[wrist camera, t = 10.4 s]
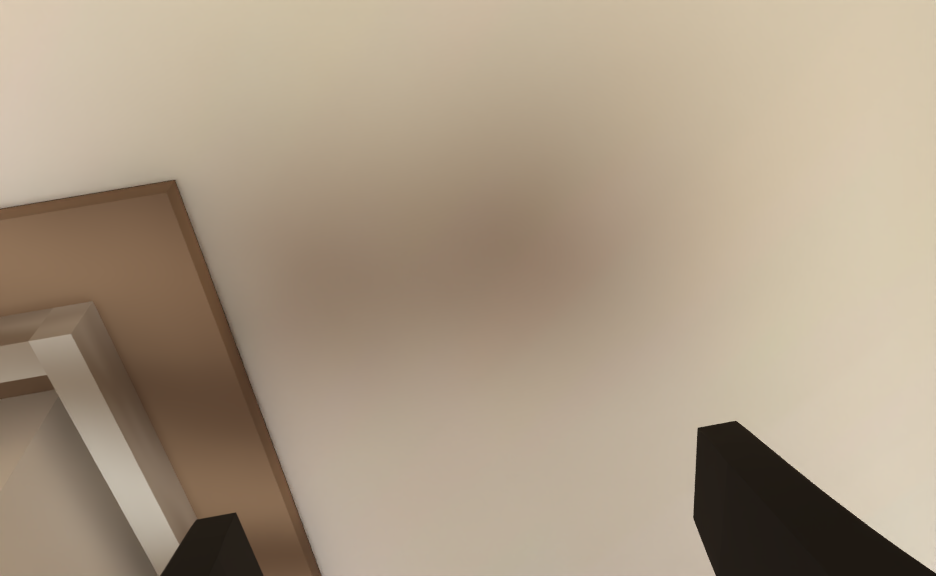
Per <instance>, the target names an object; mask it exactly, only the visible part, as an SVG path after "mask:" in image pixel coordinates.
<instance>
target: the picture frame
mask: <svg viewBox="0 0 936 576" xmlns="http://www.w3.org/2000/svg"><path fill="white" fill-rule="evenodd" d="M50 390H56V392H57V394H58V396H59V398H60V399H61V401H62V403H63V405H64V407H65V408H66V410H67V412H68V414H69V416H70V417H71V419H72V421H73V423H74V425H75V426H76V428H77V430H78V432H79V434H80V435H81V437H82V439H83V441H84V443H85V444H86V446H87V448H88V450H89V452H90V453H91V455H92V457H93V459H94V461H95V462H96V464H97V466H98V468H99V470H100V471H101V473H102V475H103V477H104V479H105V480H106V482H107V484H108V486H109V488H110V489H111V491H112V493H113V495H114V497H115V498H116V500H117V502H118V504H119V506H120V507H121V509H122V511H123V513H124V515H125V516H126V518H127V520H128V522H129V524H130V526H131V527H132V529H133V531H134V533H135V535H136V536H137V538H138V540H139V542H140V544H141V545H142V547H143V549H144V551H145V553H146V554H147V556H148V558H149V560H150V562H151V563H152V565H153V567H154V569H155V571H156V572H157V574H158V576H160V575H161V573H162V572H163V570H164V569H165V567H166V565H167V564H168V562H169V561H170V559H171V557H172V556H173V554H174V553H175V551H176V549H177V548H178V546H179V545H180V543H181V542H182V540H183V538H184V537H185V535H186V534H187V532H188V531H189V529H190V527H191V526H192V525H193V523H194V522H195V521H196V520H197V519H202V518H208V517H213V516H219V515H224V514H230V513H235V512H236V513H237V516H238V518H239V520H240V523H241V525H242V527H243V529H244V532H245V534H246V536H247V539H248V541H249V543H250V545H251V548H252V550H253V552H254V555H255V557H256V559H257V562H258V564H259V566H260V568H261V571H262V573H263V575H264V576H321V574H320V571H319V569H318V566H317V563H316V561H315V558H314V555H313V552H312V550H311V547H310V544H309V542H308V539H307V536H306V533H305V531H304V528H303V525H302V523H301V520H300V517H299V515H298V512H297V509H296V506H295V504H294V501H293V498H292V496H291V493H290V490H289V488H288V485H287V482H286V479H285V477H284V474H283V471H282V469H281V466H280V463H279V461H278V458H277V455H276V452H275V450H274V447H273V444H272V442H271V439H270V436H269V434H268V431H267V428H266V425H265V423H264V420H263V417H262V415H261V412H260V409H259V407H258V404H257V401H256V398H255V396H254V393H253V390H252V388H251V385H250V382H249V380H248V377H247V374H246V371H245V369H244V366H243V363H242V361H241V358H240V355H239V353H238V350H237V347H236V344H235V342H234V339H233V336H232V334H231V331H230V328H229V325H228V323H227V320H226V317H225V315H224V312H223V309H222V307H221V304H220V301H219V298H218V296H217V293H216V290H215V288H214V285H213V282H212V280H211V277H210V274H209V271H208V269H207V266H206V263H205V261H204V258H203V255H202V253H201V250H200V247H199V244H198V242H197V239H196V236H195V234H194V231H193V228H192V226H191V223H190V220H189V217H188V215H187V212H186V209H185V207H184V204H183V201H182V199H181V196H180V193H179V190H178V188H177V185H176V182H175V180H173V181H167V182H161V183H155V184H149V185H143V186H137V187H131V188H125V189H119V190H113V191H107V192H101V193H95V194H89V195H83V196H77V197H71V198H65V199H59V200H53V201H47V202H41V203H35V204H29V205H23V206H17V207H11V208H5V209H0V399H5V398H11V397H16V396H22V395H28V394H33V393H39V392H45V391H50Z"/></svg>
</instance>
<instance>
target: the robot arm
mask: <svg viewBox="0 0 936 576" xmlns="http://www.w3.org/2000/svg"><path fill="white" fill-rule="evenodd" d="M693 519H694V521H695V524H696V526H697V529H698V532H699V534H700V537H701V539H702V542H703V545H704V547H705V550H706V552H707V555H708V557H709V560H710V562H711V565H712V567H713V570H714V572H715V574H716V576H936V573H935V572H933V571H932V570H930V569H929V568H927V567H926V566H924V565H923V564H921V563H920V562H919V561H917V560H916V559H914V558H913V557H911V556H910V555H908V554H907V553H906V552H904V551H903V550H901V549H900V548H898V547H897V546H895V545H894V544H893V543H891V542H890V541H889V540H887V539H886V538H884V537H883V536H882V535H880V534H879V533H878V532H876V531H875V530H873V529H872V528H871V527H869V526H868V525H867V524H865V523H864V522H863V521H861V520H860V519H859V518H857V517H856V516H855V515H854V514H852V513H851V512H850V511H848V510H847V509H846V508H844V507H843V506H842V505H840V504H839V503H838V502H836V501H835V500H834V499H832V498H831V497H830V496H829V495H827V494H826V493H825V492H823V491H822V490H821V489H820V488H818V487H817V486H816V485H815V484H813V483H812V482H811V481H810V480H808V479H807V478H806V477H805V476H803V475H802V474H801V473H800V472H798V471H797V470H796V469H795V468H793V467H792V466H791V465H790V464H788V463H787V462H786V461H785V460H784V459H782V458H781V457H780V456H779V455H778V454H776V453H775V452H774V451H773V450H771V449H770V448H769V447H768V446H767V445H765V444H764V443H763V442H762V441H761V440H759V439H758V438H757V437H756V436H754V435H753V434H752V433H751V432H750V431H748V430H747V429H746V428H745V427H743V426H742V425H741V424H740V423H738V422H737V421H733V422H727V423H722V424H716V425H711V426H705V427H700V428H698V433H697V454H696V474H695V495H694V515H693ZM160 576H264V575H263V573H262V571H261V568H260V566H259V564H258V562H257V559H256V557H255V555H254V552H253V550H252V548H251V545H250V543H249V541H248V539H247V536H246V534H245V532H244V529H243V527H242V525H241V523H240V520H239V518H238V516H237V513H236V512H235V513H230V514H224V515H219V516H213V517H208V518H202V519H197V520H196V521H195V522H194V523H193V525H192V526H191V527H190V529H189V531H188V532H187V534H186V535H185V537H184V538H183V540H182V542H181V543H180V545H179V546H178V548H177V549H176V551H175V553H174V554H173V556H172V557H171V559H170V561H169V562H168V564H167V565H166V567H165V569H164V570H163V572H162V573H161V575H160Z"/></svg>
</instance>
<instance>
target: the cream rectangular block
mask: <svg viewBox="0 0 936 576" xmlns="http://www.w3.org/2000/svg"><path fill="white" fill-rule="evenodd" d="M0 576H158V574H157V572H156V571H155V569H154V567H153V565H152V563H151V562H150V560H149V558H148V556H147V554H146V553H145V551H144V549H143V547H142V545H141V544H140V542H139V540H138V538H137V536H136V535H135V533H134V531H133V529H132V527H131V526H130V524H129V522H128V520H127V518H126V516H125V515H124V513H123V511H122V509H121V507H120V506H119V504H118V502H117V500H116V498H115V497H114V495H113V493H112V491H111V489H110V488H109V486H108V484H107V482H106V480H105V479H104V477H103V475H102V473H101V471H100V470H99V468H98V466H97V464H96V462H95V461H94V459H93V457H92V455H91V453H90V452H89V450H88V448H87V446H86V444H85V443H84V441H83V439H82V437H81V435H80V434H79V432H78V430H77V428H76V426H75V425H74V423H73V421H72V419H71V417H70V416H69V414H68V412H67V410H66V408H65V407H64V405H63V403H62V401H61V399H60V398H59V396H58V394H57V392H56V390H50V391H45V392H39V393H33V394H28V395H22V396H16V397H11V398H5V399H0Z"/></svg>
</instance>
